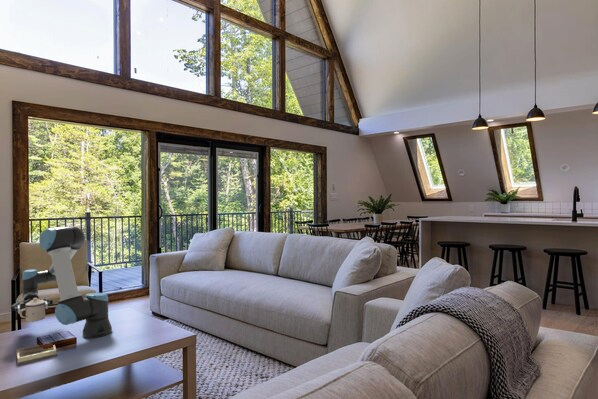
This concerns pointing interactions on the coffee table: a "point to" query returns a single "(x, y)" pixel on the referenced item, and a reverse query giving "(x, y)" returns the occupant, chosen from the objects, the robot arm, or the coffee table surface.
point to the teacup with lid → (34, 310)
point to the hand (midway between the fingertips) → (33, 308)
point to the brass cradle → (36, 355)
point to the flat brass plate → (31, 351)
